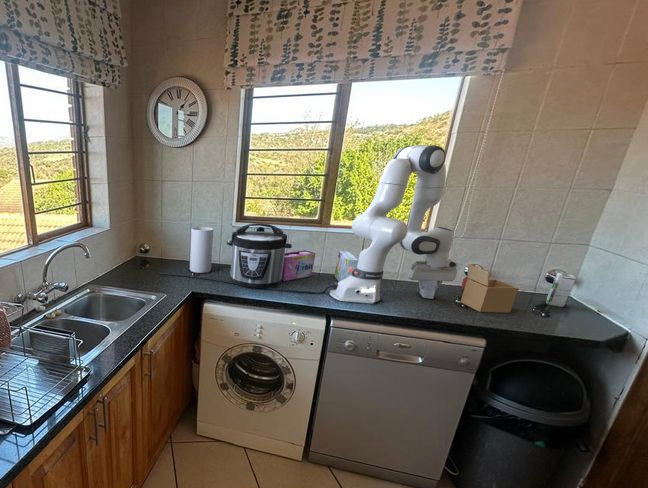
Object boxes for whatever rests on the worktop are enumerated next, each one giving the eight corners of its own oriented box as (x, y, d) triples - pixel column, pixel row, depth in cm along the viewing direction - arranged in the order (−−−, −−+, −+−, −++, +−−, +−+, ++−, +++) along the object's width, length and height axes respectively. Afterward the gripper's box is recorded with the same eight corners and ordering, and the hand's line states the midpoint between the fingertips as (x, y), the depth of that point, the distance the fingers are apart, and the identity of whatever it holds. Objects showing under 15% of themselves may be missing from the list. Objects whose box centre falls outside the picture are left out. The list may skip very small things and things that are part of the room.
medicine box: (433, 299, 194) (438, 282, 191) (422, 297, 196) (427, 280, 192) (429, 294, 201) (433, 277, 198) (418, 293, 202) (423, 276, 199)
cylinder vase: (212, 269, 243) (215, 227, 233) (207, 274, 232) (210, 231, 223) (192, 267, 247) (194, 226, 238) (187, 272, 236) (189, 229, 227)
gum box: (281, 281, 219) (285, 257, 214) (271, 278, 226) (274, 254, 221) (312, 276, 230) (316, 252, 225) (301, 272, 237) (304, 250, 232)
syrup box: (544, 301, 192) (556, 272, 187) (561, 304, 189) (573, 274, 184) (547, 304, 188) (558, 275, 183) (564, 307, 185) (576, 277, 179)
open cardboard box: (479, 311, 179) (487, 287, 175) (460, 301, 191) (467, 278, 187) (510, 312, 178) (518, 288, 174) (488, 302, 190) (496, 279, 186)
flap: (488, 285, 175) (487, 286, 175) (468, 277, 187) (467, 277, 187) (489, 272, 172) (488, 272, 172) (468, 264, 184) (467, 264, 184)
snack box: (353, 288, 209) (359, 260, 204) (342, 287, 210) (347, 259, 205) (343, 276, 229) (349, 250, 223) (333, 276, 230) (338, 250, 224)
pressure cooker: (215, 280, 221) (219, 222, 209) (248, 272, 237) (254, 217, 225) (260, 294, 199) (268, 230, 187) (293, 284, 215) (302, 224, 203)
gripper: (416, 262, 190) (409, 290, 195) (461, 263, 188) (453, 291, 193) (409, 259, 195) (402, 286, 200) (453, 260, 194) (445, 287, 199)
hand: (428, 289), depth 197 cm, fingers closed on medicine box, 5 cm apart
